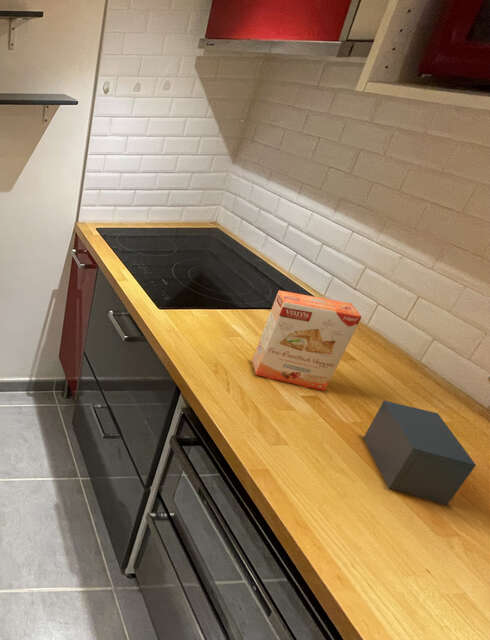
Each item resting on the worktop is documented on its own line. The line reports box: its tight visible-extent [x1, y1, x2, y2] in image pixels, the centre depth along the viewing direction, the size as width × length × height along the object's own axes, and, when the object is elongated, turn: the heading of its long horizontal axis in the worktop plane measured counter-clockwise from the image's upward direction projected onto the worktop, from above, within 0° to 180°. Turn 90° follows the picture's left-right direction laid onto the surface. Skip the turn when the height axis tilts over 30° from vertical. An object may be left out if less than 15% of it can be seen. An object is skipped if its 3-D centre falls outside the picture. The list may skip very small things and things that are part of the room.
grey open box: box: [363, 399, 477, 506], centre depth 81 cm, size 8×12×10 cm, turn 157°
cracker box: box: [251, 290, 362, 392], centre depth 101 cm, size 14×6×21 cm, turn 68°
